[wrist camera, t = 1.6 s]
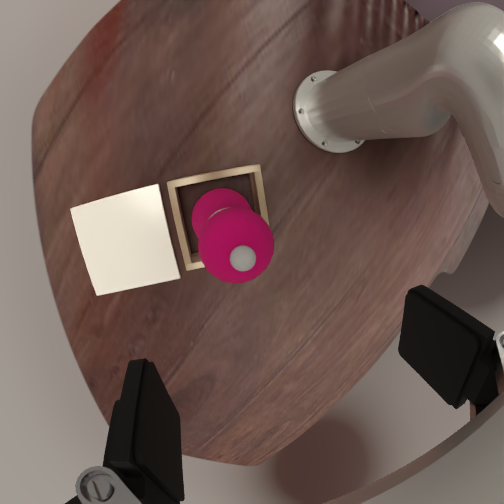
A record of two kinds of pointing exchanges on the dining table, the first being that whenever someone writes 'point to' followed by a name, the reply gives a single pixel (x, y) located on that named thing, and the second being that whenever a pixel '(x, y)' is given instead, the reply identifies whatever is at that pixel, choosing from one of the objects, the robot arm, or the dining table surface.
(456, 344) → the robot arm
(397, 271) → the dining table surface
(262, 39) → the dining table surface
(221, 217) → the pepper mill
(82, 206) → the tile
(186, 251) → the holder
